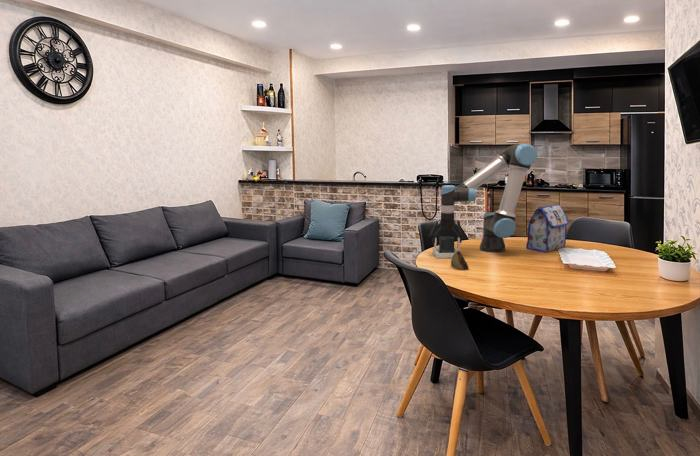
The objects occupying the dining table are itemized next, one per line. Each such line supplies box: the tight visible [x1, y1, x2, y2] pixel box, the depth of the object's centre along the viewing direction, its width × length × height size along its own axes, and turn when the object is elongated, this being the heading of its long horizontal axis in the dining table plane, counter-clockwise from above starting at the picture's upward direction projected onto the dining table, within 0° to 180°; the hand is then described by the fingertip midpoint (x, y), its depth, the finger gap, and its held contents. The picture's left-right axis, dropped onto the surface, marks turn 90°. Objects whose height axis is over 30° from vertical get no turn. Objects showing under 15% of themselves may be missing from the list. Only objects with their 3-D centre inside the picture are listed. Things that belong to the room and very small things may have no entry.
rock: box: [450, 250, 470, 271], centre depth 237 cm, size 11×9×10 cm
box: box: [438, 235, 455, 253], centre depth 264 cm, size 8×6×11 cm
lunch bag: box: [525, 204, 569, 254], centre depth 276 cm, size 23×17×27 cm
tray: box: [432, 247, 463, 260], centre depth 265 cm, size 14×14×3 cm
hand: (446, 248), depth 264 cm, fingers open, 13 cm apart
